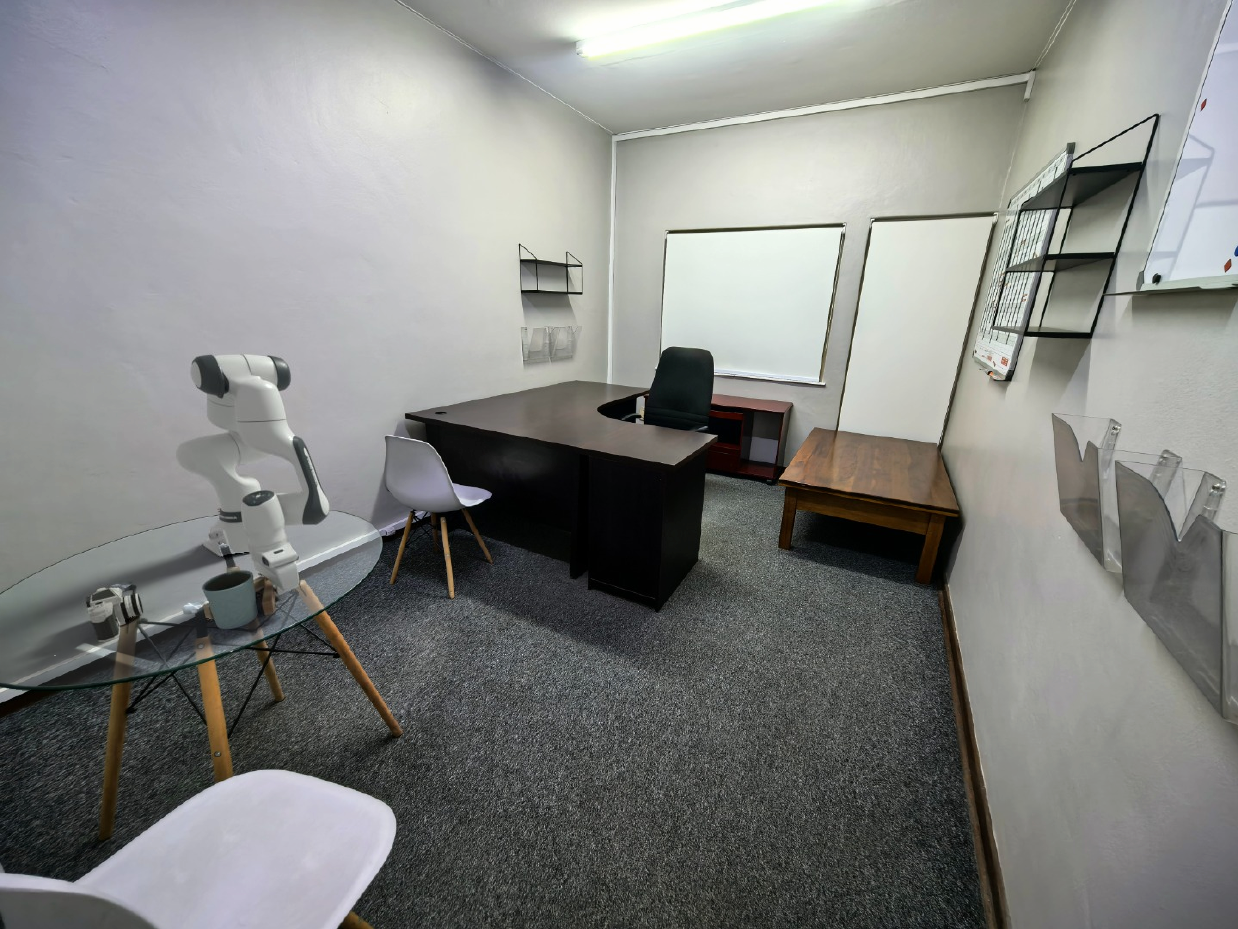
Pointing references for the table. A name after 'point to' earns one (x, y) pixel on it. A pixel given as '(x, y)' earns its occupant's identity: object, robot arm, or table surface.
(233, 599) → the green ceramic pot
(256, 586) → the base
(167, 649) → the table surface
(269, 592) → the tongs jaw
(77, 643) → the table surface
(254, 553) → the robot arm
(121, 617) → the camera
